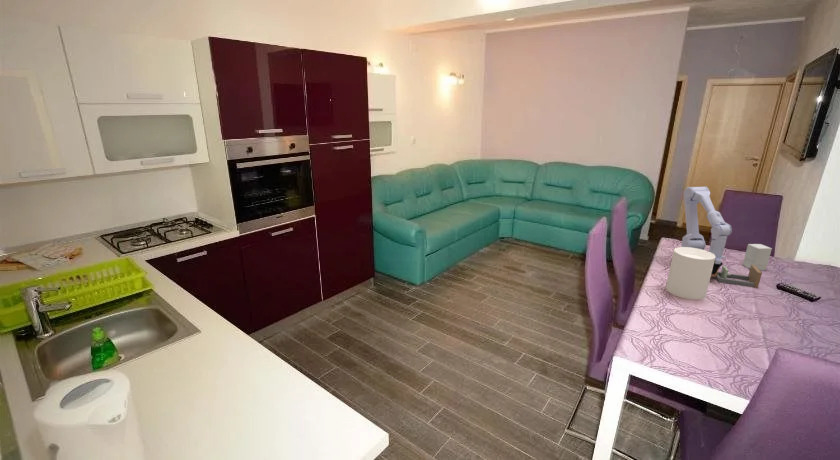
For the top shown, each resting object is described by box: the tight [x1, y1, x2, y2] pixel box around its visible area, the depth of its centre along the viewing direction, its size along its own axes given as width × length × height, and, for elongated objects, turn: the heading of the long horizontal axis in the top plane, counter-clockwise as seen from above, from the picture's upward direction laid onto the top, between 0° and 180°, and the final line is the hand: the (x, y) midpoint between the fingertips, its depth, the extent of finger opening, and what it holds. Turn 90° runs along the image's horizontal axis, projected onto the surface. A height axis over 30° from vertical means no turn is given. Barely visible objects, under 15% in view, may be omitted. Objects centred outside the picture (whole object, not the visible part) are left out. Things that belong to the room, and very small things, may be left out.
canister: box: [665, 246, 716, 301], centre depth 180 cm, size 16×16×20 cm
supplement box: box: [742, 243, 773, 271], centre depth 208 cm, size 7×7×13 cm
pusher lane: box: [715, 265, 763, 289], centre depth 193 cm, size 16×10×8 cm, turn 65°
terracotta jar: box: [710, 268, 720, 278], centre depth 197 cm, size 5×5×6 cm
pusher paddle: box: [720, 265, 732, 279], centre depth 195 cm, size 3×6×6 cm, turn 155°
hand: (710, 271), depth 197 cm, fingers closed on terracotta jar, 5 cm apart
